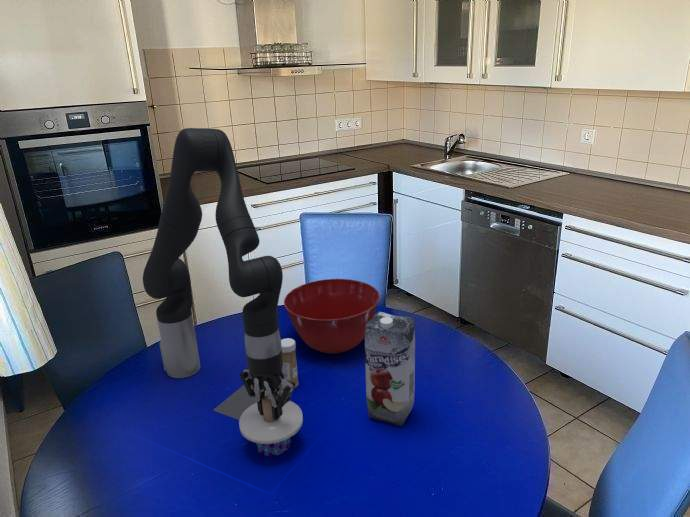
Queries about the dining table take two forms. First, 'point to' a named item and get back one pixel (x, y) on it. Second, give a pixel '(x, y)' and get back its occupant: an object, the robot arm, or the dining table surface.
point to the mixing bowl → (332, 313)
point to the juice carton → (390, 367)
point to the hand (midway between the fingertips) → (270, 415)
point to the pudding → (274, 447)
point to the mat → (237, 403)
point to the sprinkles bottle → (289, 361)
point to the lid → (270, 422)
